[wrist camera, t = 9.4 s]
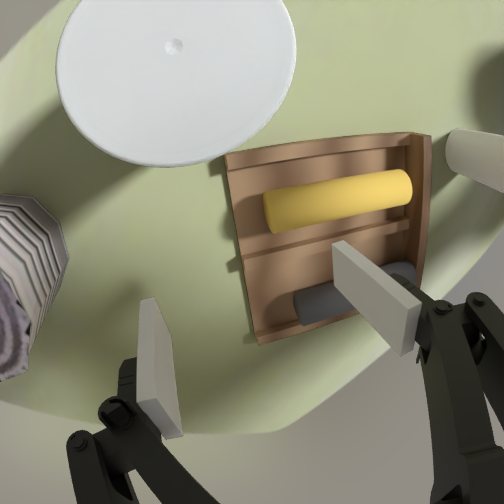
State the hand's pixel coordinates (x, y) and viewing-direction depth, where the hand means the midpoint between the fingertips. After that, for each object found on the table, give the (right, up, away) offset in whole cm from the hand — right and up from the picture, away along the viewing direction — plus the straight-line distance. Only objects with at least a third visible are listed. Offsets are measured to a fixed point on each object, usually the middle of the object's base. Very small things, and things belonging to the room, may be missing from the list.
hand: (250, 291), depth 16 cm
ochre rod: (+8, +6, +12) cm, 16 cm away
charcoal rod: (+11, -1, +18) cm, 21 cm away
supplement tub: (-6, +15, +6) cm, 18 cm away
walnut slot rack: (+9, +4, +15) cm, 18 cm away
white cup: (+26, +15, +15) cm, 33 cm away
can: (-22, +2, +7) cm, 23 cm away
